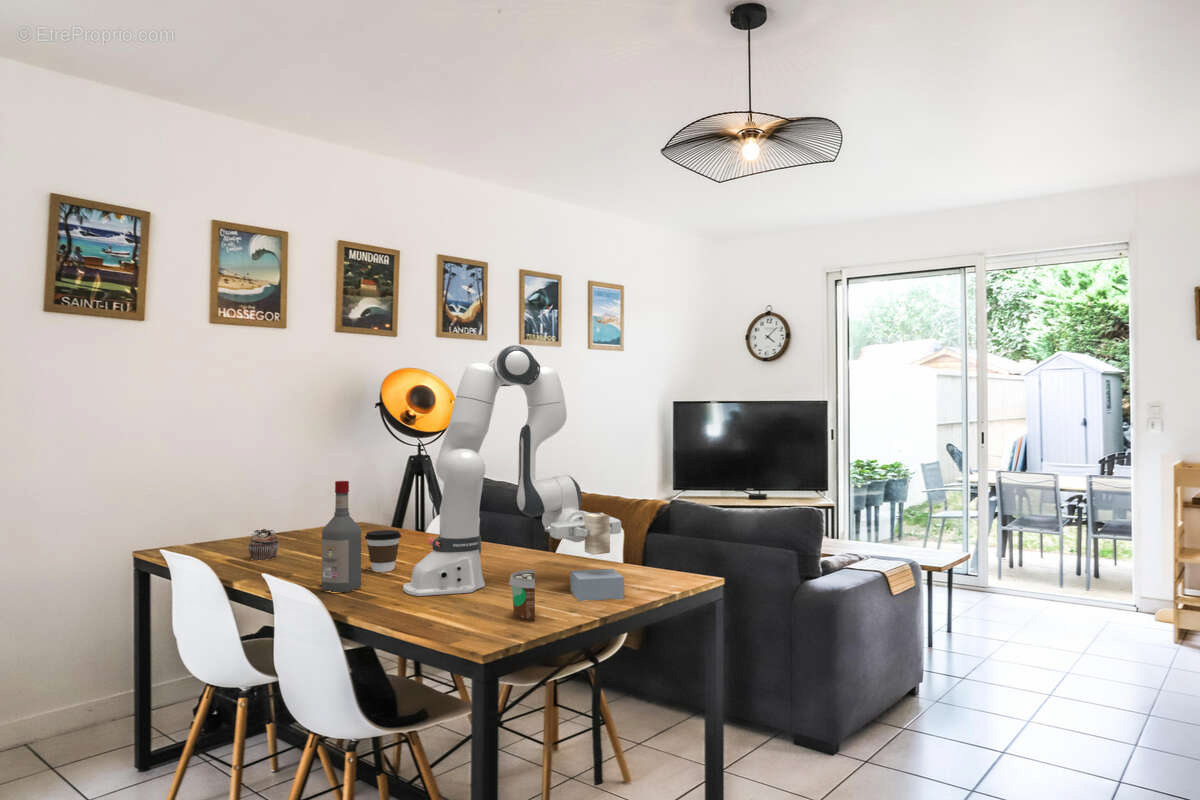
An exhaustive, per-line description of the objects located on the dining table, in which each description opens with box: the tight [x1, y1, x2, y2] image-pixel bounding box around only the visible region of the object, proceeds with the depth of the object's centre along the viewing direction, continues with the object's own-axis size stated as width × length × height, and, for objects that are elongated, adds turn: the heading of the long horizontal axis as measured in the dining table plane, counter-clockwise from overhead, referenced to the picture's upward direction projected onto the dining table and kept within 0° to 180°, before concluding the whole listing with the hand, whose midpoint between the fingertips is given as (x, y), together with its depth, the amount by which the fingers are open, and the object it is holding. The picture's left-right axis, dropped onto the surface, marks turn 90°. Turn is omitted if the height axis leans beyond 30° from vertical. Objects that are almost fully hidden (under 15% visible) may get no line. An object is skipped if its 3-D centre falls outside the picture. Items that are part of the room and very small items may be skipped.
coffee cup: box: [364, 529, 402, 572], centre depth 242 cm, size 11×11×12 cm
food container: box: [508, 569, 536, 622], centre depth 187 cm, size 12×6×10 cm, turn 5°
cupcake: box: [247, 528, 279, 560], centre depth 264 cm, size 10×10×10 cm
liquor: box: [321, 480, 362, 593], centre depth 216 cm, size 9×9×30 cm
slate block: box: [569, 568, 625, 602], centre depth 208 cm, size 12×12×6 cm
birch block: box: [584, 512, 611, 556], centre depth 209 cm, size 5×5×10 cm
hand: (598, 532), depth 208 cm, fingers closed on birch block, 5 cm apart
